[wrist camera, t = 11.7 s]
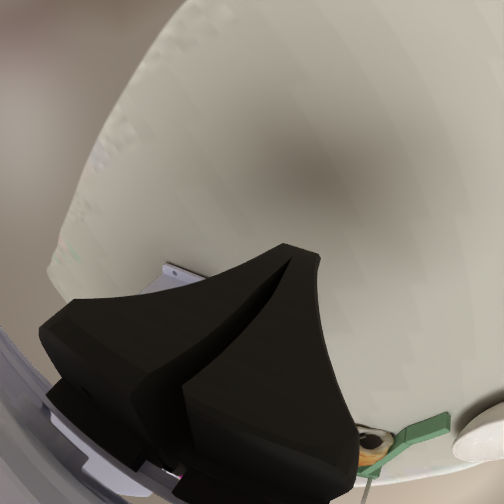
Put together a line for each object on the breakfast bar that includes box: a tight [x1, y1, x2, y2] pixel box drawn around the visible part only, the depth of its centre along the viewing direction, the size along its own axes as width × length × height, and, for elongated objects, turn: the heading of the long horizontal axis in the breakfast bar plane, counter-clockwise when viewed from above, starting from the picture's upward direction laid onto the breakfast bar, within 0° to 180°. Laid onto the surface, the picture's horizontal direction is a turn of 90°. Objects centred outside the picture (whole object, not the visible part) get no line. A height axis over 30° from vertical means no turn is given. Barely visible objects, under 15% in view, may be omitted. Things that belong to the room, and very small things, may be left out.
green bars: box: [357, 412, 451, 504], centre depth 25 cm, size 19×18×10 cm
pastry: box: [356, 426, 394, 467], centre depth 28 cm, size 9×7×4 cm
